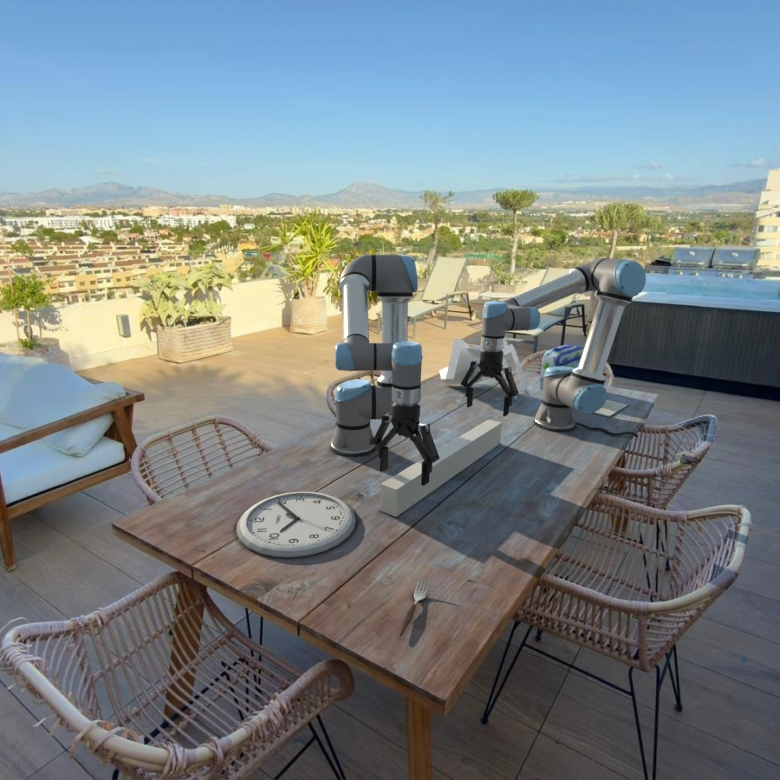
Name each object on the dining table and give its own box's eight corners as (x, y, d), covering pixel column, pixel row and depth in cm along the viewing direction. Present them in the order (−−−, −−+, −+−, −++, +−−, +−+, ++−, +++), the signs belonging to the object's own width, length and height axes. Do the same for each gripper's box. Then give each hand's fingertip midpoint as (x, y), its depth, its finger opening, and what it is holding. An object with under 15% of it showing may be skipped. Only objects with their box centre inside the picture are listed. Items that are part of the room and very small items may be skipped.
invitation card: (608, 416, 214) (573, 407, 224) (608, 416, 214) (573, 408, 224) (628, 404, 229) (594, 396, 238) (628, 405, 229) (594, 397, 238)
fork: (393, 636, 97) (393, 627, 97) (418, 584, 112) (419, 576, 111) (406, 640, 96) (407, 631, 96) (430, 587, 111) (430, 579, 110)
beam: (486, 440, 189) (488, 419, 186) (500, 443, 186) (501, 422, 183) (380, 510, 140) (380, 483, 138) (395, 517, 138) (396, 489, 135)
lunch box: (556, 397, 237) (562, 352, 231) (535, 392, 244) (540, 348, 238) (583, 386, 255) (589, 344, 248) (562, 381, 262) (567, 340, 256)
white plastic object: (461, 429, 252) (437, 405, 227) (444, 352, 274) (420, 323, 250) (535, 404, 240) (518, 377, 215) (510, 326, 262) (492, 293, 237)
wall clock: (357, 549, 121) (224, 553, 118) (357, 555, 121) (224, 559, 118) (354, 487, 149) (247, 489, 147) (354, 492, 150) (247, 495, 147)
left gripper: (359, 396, 140) (359, 468, 146) (439, 415, 125) (435, 495, 131) (377, 390, 145) (376, 460, 151) (455, 408, 131) (451, 484, 137)
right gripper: (453, 345, 176) (449, 405, 182) (523, 357, 161) (517, 421, 168) (464, 342, 181) (460, 400, 188) (532, 353, 167) (526, 415, 174)
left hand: (404, 476), depth 141 cm, fingers open, 13 cm apart
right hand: (487, 410), depth 178 cm, fingers open, 13 cm apart
